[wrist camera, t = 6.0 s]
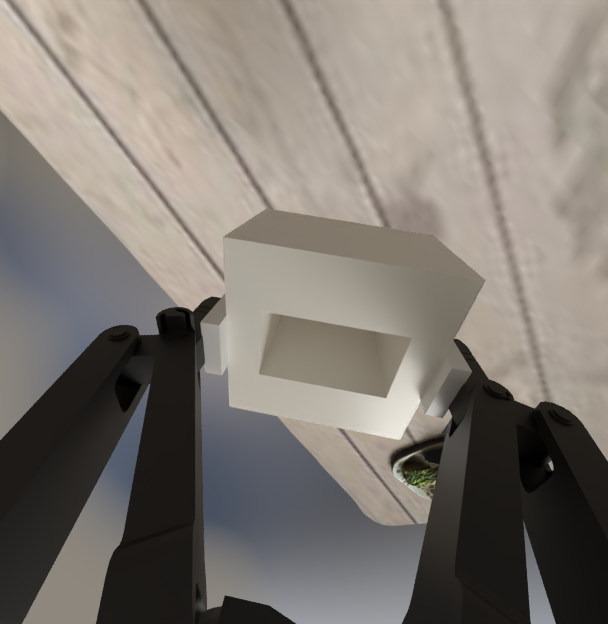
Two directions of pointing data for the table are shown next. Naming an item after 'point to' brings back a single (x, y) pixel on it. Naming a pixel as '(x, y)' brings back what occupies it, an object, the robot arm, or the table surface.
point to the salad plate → (419, 466)
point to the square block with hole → (339, 319)
